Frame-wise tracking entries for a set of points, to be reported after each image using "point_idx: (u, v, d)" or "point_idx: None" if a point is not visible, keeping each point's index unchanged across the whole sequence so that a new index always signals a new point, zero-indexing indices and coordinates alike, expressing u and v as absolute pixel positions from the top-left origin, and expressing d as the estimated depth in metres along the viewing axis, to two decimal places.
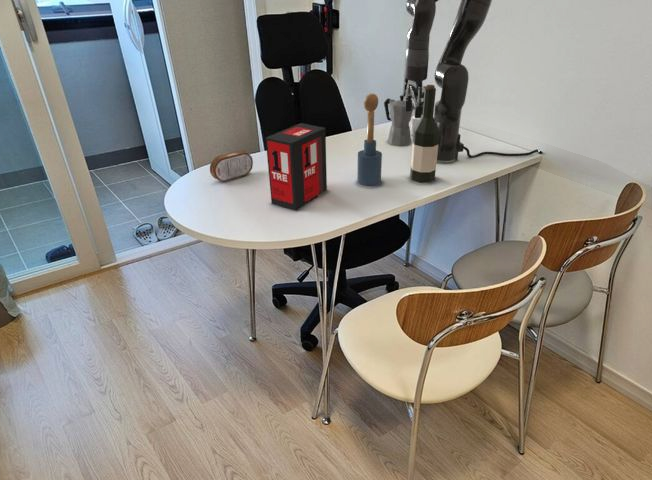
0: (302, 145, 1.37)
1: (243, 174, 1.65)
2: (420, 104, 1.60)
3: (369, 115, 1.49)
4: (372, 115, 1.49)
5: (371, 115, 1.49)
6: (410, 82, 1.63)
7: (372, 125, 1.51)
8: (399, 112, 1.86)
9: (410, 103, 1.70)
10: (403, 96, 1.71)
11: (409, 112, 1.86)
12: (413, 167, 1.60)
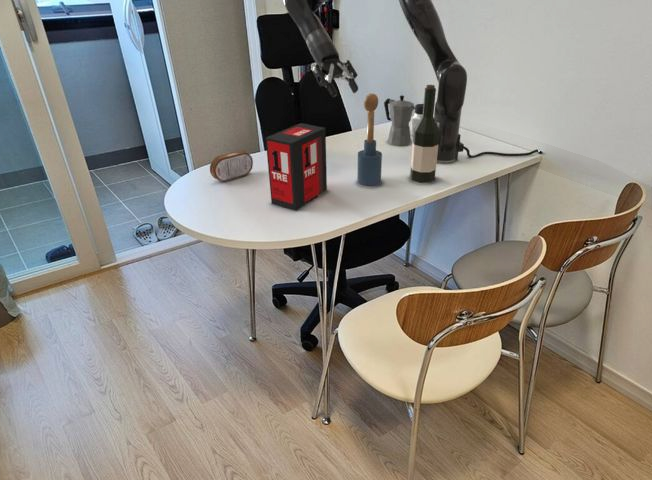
0: (302, 145, 1.37)
1: (243, 174, 1.65)
2: (319, 83, 1.51)
3: (369, 115, 1.49)
4: (372, 115, 1.49)
5: (371, 115, 1.49)
6: None
7: (372, 125, 1.51)
8: (399, 112, 1.86)
9: (352, 83, 1.56)
10: None
11: (409, 112, 1.86)
12: (413, 167, 1.60)
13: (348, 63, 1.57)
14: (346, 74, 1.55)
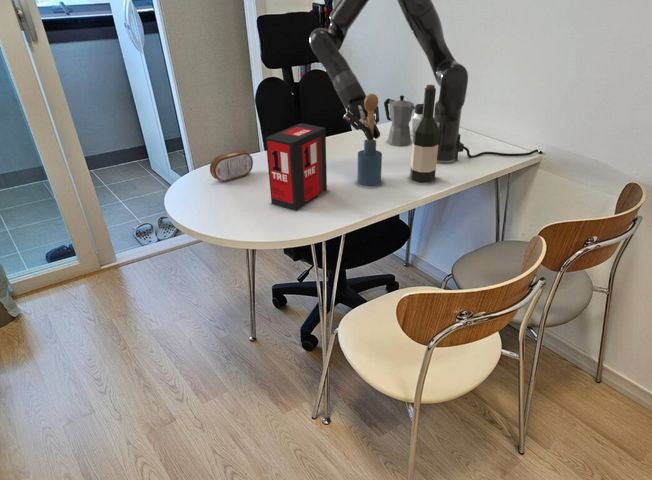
0: (302, 145, 1.37)
1: (243, 174, 1.65)
2: (356, 127, 1.50)
3: (369, 115, 1.49)
4: (372, 115, 1.49)
5: (371, 115, 1.49)
6: None
7: (372, 125, 1.51)
8: (399, 112, 1.86)
9: (374, 129, 1.52)
10: None
11: (409, 112, 1.86)
12: (413, 167, 1.60)
13: None
14: None
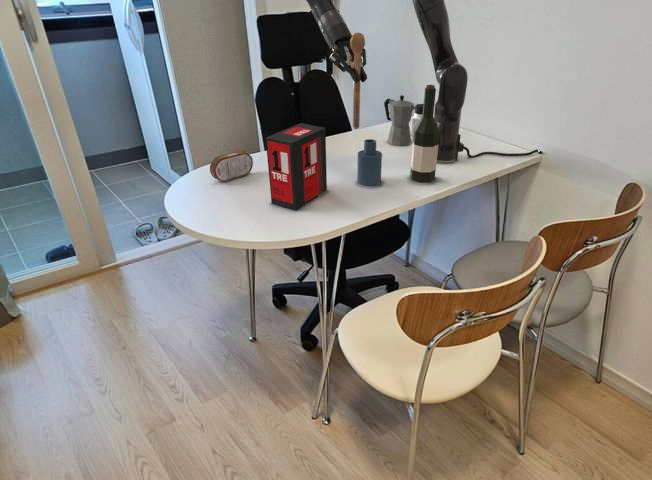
0: (302, 145, 1.37)
1: (243, 174, 1.65)
2: (342, 69, 1.46)
3: (355, 56, 1.44)
4: (359, 56, 1.44)
5: (357, 56, 1.44)
6: None
7: (359, 67, 1.46)
8: (399, 112, 1.86)
9: None
10: None
11: (409, 112, 1.86)
12: (413, 167, 1.60)
13: (362, 51, 1.50)
14: None
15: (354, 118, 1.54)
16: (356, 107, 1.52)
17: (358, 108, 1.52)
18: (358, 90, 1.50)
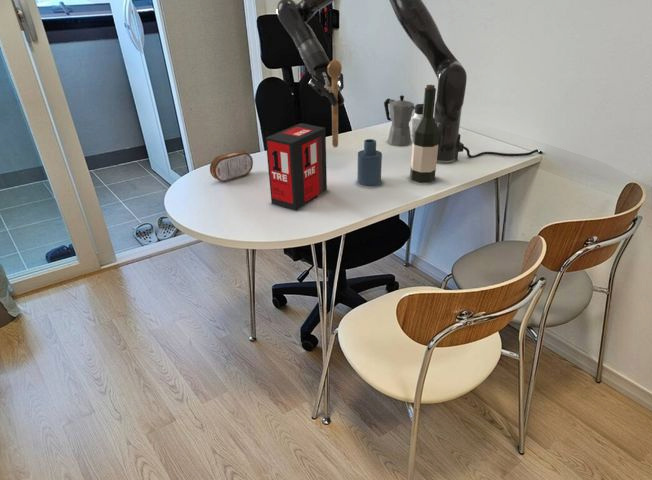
0: (302, 145, 1.37)
1: (243, 174, 1.65)
2: (321, 93, 1.58)
3: (333, 81, 1.56)
4: (336, 81, 1.56)
5: (335, 81, 1.56)
6: None
7: (336, 91, 1.58)
8: (399, 112, 1.86)
9: (338, 95, 1.59)
10: None
11: (409, 112, 1.86)
12: (413, 167, 1.60)
13: (340, 76, 1.61)
14: None
15: (333, 137, 1.66)
16: (334, 127, 1.64)
17: (336, 128, 1.64)
18: (336, 112, 1.61)
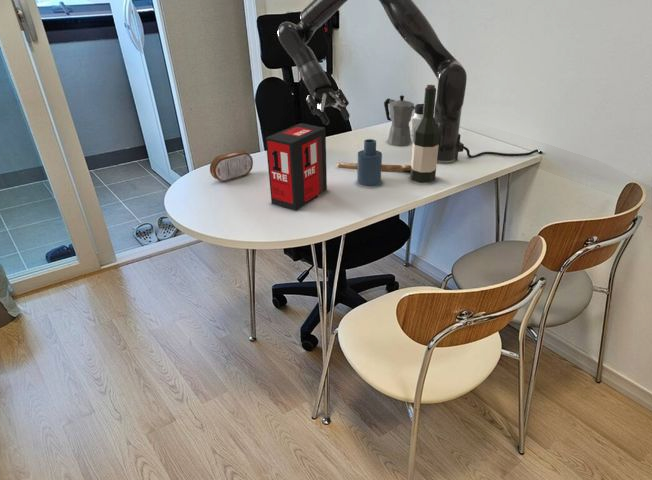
0: (302, 145, 1.37)
1: (243, 174, 1.65)
2: (312, 112, 1.59)
3: (398, 168, 1.68)
4: (398, 170, 1.68)
5: (398, 170, 1.68)
6: None
7: (389, 170, 1.69)
8: (399, 112, 1.86)
9: (343, 111, 1.65)
10: None
11: (409, 112, 1.86)
12: (413, 167, 1.60)
13: (340, 92, 1.65)
14: (338, 103, 1.64)
15: (346, 165, 1.71)
16: (356, 167, 1.70)
17: (356, 168, 1.71)
18: None
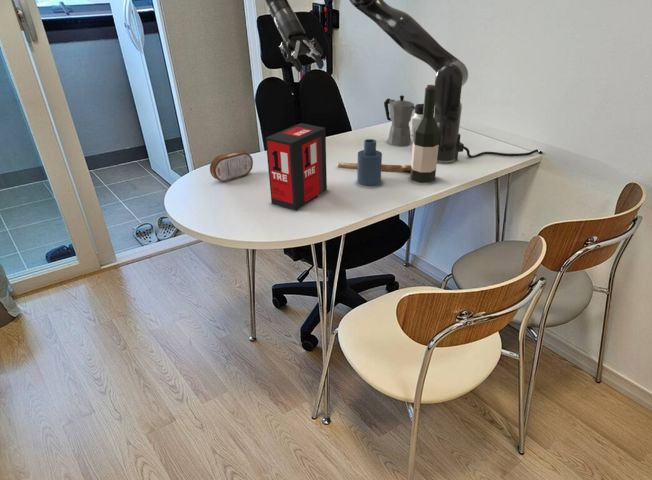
0: (302, 145, 1.37)
1: (243, 174, 1.65)
2: (286, 59, 1.59)
3: (398, 168, 1.68)
4: (398, 170, 1.68)
5: (398, 170, 1.68)
6: None
7: (389, 170, 1.69)
8: (399, 112, 1.86)
9: (318, 59, 1.65)
10: None
11: (409, 112, 1.86)
12: (413, 167, 1.60)
13: (314, 41, 1.65)
14: (312, 51, 1.64)
15: (346, 165, 1.71)
16: (356, 167, 1.70)
17: (356, 168, 1.71)
18: None
